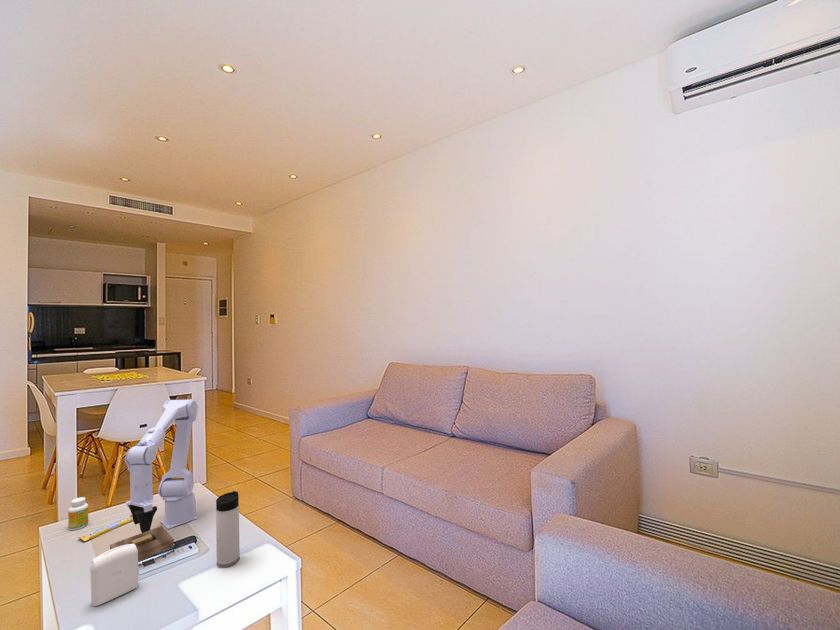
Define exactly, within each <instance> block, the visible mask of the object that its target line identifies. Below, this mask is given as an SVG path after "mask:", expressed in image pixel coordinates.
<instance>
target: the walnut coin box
mask: <svg viewBox="0 0 840 630" xmlns="http://www.w3.org/2000/svg"><path fill="white" fill-rule="evenodd" d="M149 534H151V536H152V538H153V541H150V542H148V543H145V544H142V545H140V546H137V547H136V548H137V550H138V562H140V561H143V560H145V559H147V558H149V557H151V556H153V555H154V554H157V553H159V552H161V551H165V550H167V549H170V548H172V547H174V548H175V538H174V537H173V536H172V535H171V534H170V533H169V532H168V531H167V530H166V529H165V528H164V527H163V525H160V526H158V527H155V528H151V529H150V530H149V531H147V532H144V533H142V532H141V533H138V534H135V535H133V536H130V537H128V538H125V539H121V540H119V541H117V542H116V541H115V542H112V543H110V544H109V550H111V549H113V548H116V547H119V546H122V545H127V544H131V541H132V540H135V539H138V538H140V537H143V536H146V535H149Z"/></svg>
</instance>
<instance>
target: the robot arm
mask: <svg viewBox="0 0 840 630" xmlns="http://www.w3.org/2000/svg"><path fill="white" fill-rule="evenodd" d="M197 403H198V402H197V401H196V400H195V399H194V398H191V399H167V400H166V401H165V402H164V404H163V406H162V414H161V415H160V418H159V419H158V421H157V422H156V424H155V426H154V427H150V428H149V429H148V430H147V431H146V432H145V434H144V435H143V436H142V438H140V440H139V441H138V442H137V444H136V445H134V446H132V447H131V448H129V449H128V450H127V451H126V453H125V458H124V462H125V465H126V467H127V471H128V472H129V486H130V487H129V488H130V489H129V490H130V494H129V496H130V497H129V498H130V499H129V500H127V501H125V506H127V507H128V508H129V510H130V513H131V515H132V518H133V521H132V522H133V523H134V525H138V524H139V529H140V532H141V533H144V532H147V531H149V530H151V529H152V528H151V527H152V522H153V519H154V516H155V514H156V512H157V511H158V506H157V505H155V506H153V500H154V494H153V463H154V462H155V460H156V458H157V453H158V452H159V449H158V448H159V447H160V445H161V444H162V443H163V441H164V440H165V438H166V431H167V430H168V429H169V428H170V426H171V425H173V423H174V424H175V426H176V427H175V428H176V429H175V435H174V442H173V448H172V455H171V461H170V462H171V463H170V469H169V470H168V471H167V472H166V473H164V474H163V475H162V476H161V481H160V483H159V486H158V491H157V493H158V495H159V497H160V498H162V501H164V519H162V520H160V522H161V524H162V526H164V527H165V528H166V529H167V530H171V529H172V528H175V527H178V526H180V525H183V524H186V523H189V522H192V521H194V520H197V518H198V516H197V499H196V495H195V493H194V492H192V491H193V489H194V485H195V484H194V473H192V471H190V470H189V469H187V463H188V455H189V448H190V442H191V434H192V426H193V423H194V422H195V421H196V420H197V415H198V414H197V413H198V407H199V406H198V404H197Z"/></svg>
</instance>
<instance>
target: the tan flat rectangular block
mask: <svg viewBox="0 0 840 630" xmlns="http://www.w3.org/2000/svg"><path fill="white" fill-rule="evenodd" d="M150 541H153V538H152V536H151V534H149V535H146V536H143V537H140V538H138V539H135V540H132V541H131V544H135V545H136V547H137V546H140V545H142V544H145V543H148V542H150Z"/></svg>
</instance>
